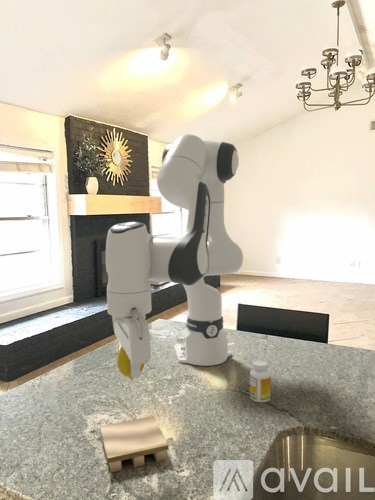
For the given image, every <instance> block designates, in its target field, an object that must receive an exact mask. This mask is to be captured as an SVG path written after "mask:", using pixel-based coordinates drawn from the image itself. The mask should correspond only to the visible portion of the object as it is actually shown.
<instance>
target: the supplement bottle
mask: <svg viewBox="0 0 375 500" xmlns="http://www.w3.org/2000/svg"><path fill="white" fill-rule="evenodd" d="M271 379H272V375H271V371H270V370H269V362H268V361H267V360H263V359H256V360H255V359H254V360H253V361H252V368H251V369H250V372H249V398H250V399H251V400H252V401H253V402H255V403H256V402H257V403H267V402H269V401H271V396H272V395H271V394H272V393H271V392H272V389H271V387H272V385H271V383H272V381H271Z"/></svg>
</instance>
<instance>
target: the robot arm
mask: <svg viewBox="0 0 375 500" xmlns="http://www.w3.org/2000/svg"><path fill="white" fill-rule="evenodd" d="M239 162H240V161H239V154H238V150H237V148H236V147H235V145H234V144H232V143H229V142H225V141H222V142H217V141H211V140H210V141H209V140H203V139H202V138H200V137H199V136H197V135H195V134H189V133H187V134H184V135H181V136H179V137H178V138H177V139H175V141H174V142H171V143H169V144H167V145H166V147H164V149H163V153H162V156H161V165H160V167H159V170H158V174H157V178H156V179H157V180H156V185H157V189H158V191H159V192H160V194H161V195H162V197H163V198H164V199H165V200H166V201H167V202H169V203H170V204H172V205H174V206H177V207H179V208H182V209H184V210H187V211H188V216H187V221H186V230H185V231H186V232H185V233H184V234H181V235H180V236H175V237H174V236H172V237H171V236H170V237H169V236H165V237H164V236H154V235H152V234H150V233H149V232H148V230H147V228H148V227H147V226H146V224H145V223H143V222H139V221H129V222H128V221H127V222H121V223H117V224H114V225H113V226H111V227H110V228H109V229H108V231H107V236H106V240H105V271H106V273H107V278H108V281H107V284H106V304H107V309H106V310H107V314H108V315H110V316H111V319H112V327H113V328H112V329H113V332H114V335H115V337H116V338H117V341H118V342H119V343H120V346H121V347H123V349H124V351H125V353H126V355H127V356H128V358H129V360H130V375H131V377H133V379H135V378H139V377H140V376H141V373H140V367H141V364H143V363H145V364H147V363H149V362H150V361H151V357H152V351H151V349H152V347H151V336H150V335H151V334H150V327H149V323H148V321H147V320H146V319H147V318H146V317H147V316H146V315H147V314H150V313H151V312H152V308H153V307H152V285H151V282H150V281H154V282H164V283H165V282H166V283H174V284H179V285H182V286H183V288H184V290H185V293H186V298H187V307H188V308H187V309H188V310H187V311H188V315H187V317H186V325H185V328H184V329H183V330H182V331H181V332H180V336H177V340H176V341H177V343H175V344H174V347H173V349H174V352H175V355H176V357H177V362H178V363H182V364H189V365H195V366H200V367H201V366H202V367H204V366H205V367H206V366H207V367H209V366H216V365H220V364H223V363H224V362H226V361H227V359H228V358H229V357H230V356H232V351H231V350H229V348H228V347H229V346H228V335H227V331H226V329H224V317H223V316H222V315H223V313H222V312H223V310H222V309H223V307H222V306H223V305H222V303H223V302H222V295H221V293H220V291H219V289H217V288H216V287H213V286H211V285H209V284H207V283H205V280H204V278H205V277H206V276H226V275H230V274H232V273H233V274H234V273H237V272H238V271H239V270H241V268H242V265H243V264H244V254H243V251H242V248H241V247H240V246H239V245H238V244H237V243H235V242H234V240H232V238H231V237H230V236H229V234H228V232H227V229H226V227H225V184H226V183H227V181H229V180H231V179H232V178H233V177H234V176H235V175H236V173H237V170H238V167H239V165H240V164H239Z"/></svg>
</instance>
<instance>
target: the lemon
mask: <svg viewBox="0 0 375 500" xmlns="http://www.w3.org/2000/svg"><path fill="white" fill-rule="evenodd" d="M116 360H117V361H116V362H117V367H118V370H119V372H120V373H121V374H122V375H123V376H124V377H128V378H129V379H130V380H134V378H133V377H131V375H130V360H129V358H128V356H127V355H126V353H125V351H124V349H123V347H122V346H121V347H120V348H119V350H118V353H117V358H116ZM145 364H146V363H143V364H141V367H140V374H141V373H142V371H144V368H145Z"/></svg>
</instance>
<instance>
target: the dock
mask: <svg viewBox="0 0 375 500" xmlns="http://www.w3.org/2000/svg"><path fill="white" fill-rule="evenodd" d="M99 432H100V435H101V439H102V443H103V448H104V452H105V456H106V461H107V464H108V465H109V469H110V473H114V472H115V473H116V472H120V471H122V461H125V460H129V459H130V460H131V461H132V465H133V467H134V468H136V467H141V466H145V456H147V455H148V456H149V455H151V454H152V455H153V457H154V459H155V461H156V463H158V462H163V461H167V451H169V449H170V448H169V443H168V441H167V440H166V438H165V435H164V434H163V431H162V430H161V428H160V425H159V423H158V422H157V420H156V418H155V416H154V415H148V416H145V417H140V418H134V419H129V420H124V421H119V422H113V423H109V424H103V425H100V426H99Z"/></svg>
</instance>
